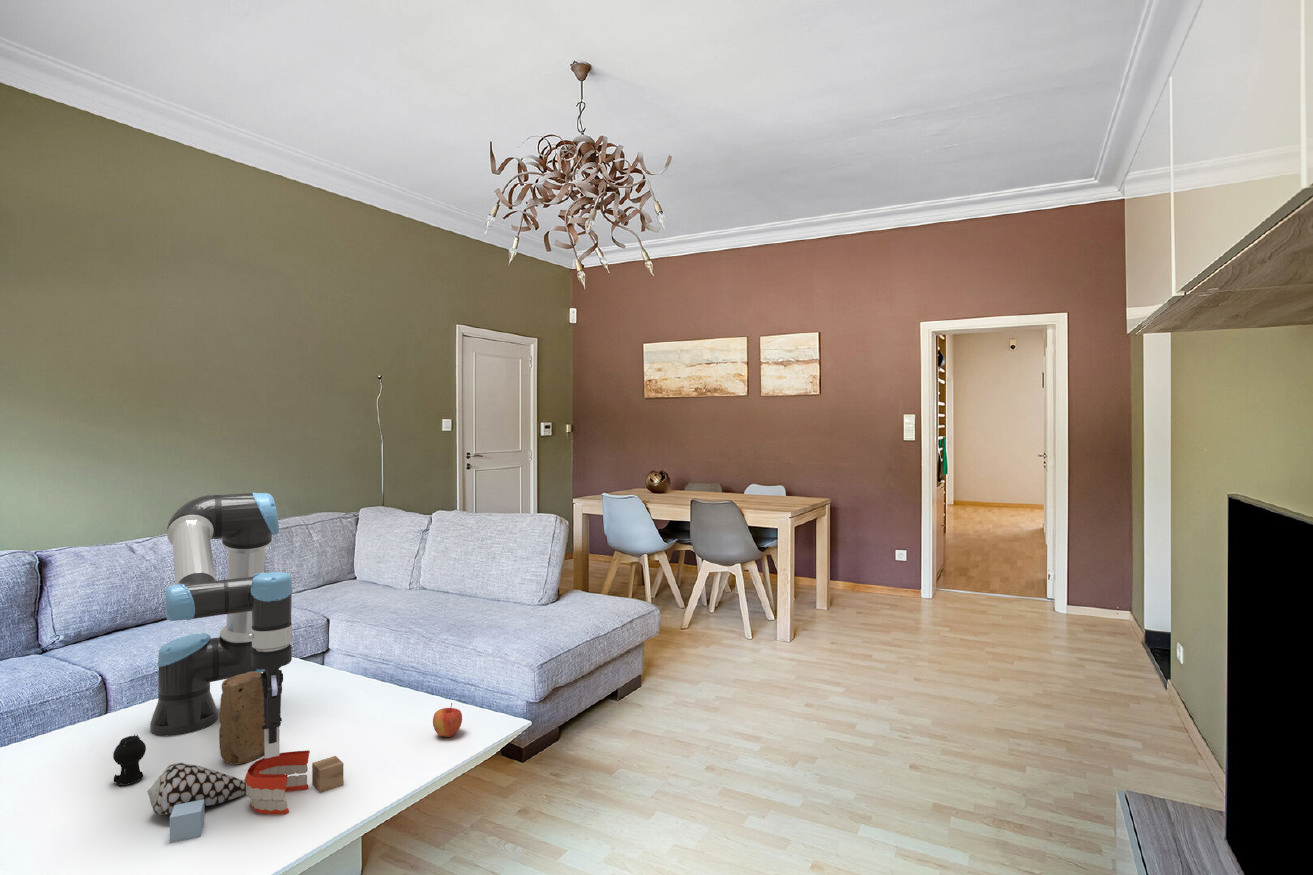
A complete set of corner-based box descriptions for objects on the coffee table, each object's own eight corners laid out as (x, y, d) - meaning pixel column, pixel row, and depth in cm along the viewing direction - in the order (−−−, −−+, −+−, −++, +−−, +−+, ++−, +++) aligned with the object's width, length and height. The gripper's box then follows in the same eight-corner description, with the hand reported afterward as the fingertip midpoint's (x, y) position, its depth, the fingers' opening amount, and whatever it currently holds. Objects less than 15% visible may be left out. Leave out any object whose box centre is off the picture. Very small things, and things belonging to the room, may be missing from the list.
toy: (262, 787, 153) (262, 751, 153) (311, 785, 154) (310, 749, 154) (233, 818, 141) (233, 779, 141) (286, 816, 141) (286, 777, 141)
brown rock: (231, 769, 161) (231, 684, 161) (216, 761, 165) (216, 678, 165) (278, 751, 170) (278, 671, 170) (262, 744, 174) (262, 665, 174)
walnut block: (312, 784, 154) (312, 762, 154) (335, 777, 158) (335, 755, 158) (319, 793, 151) (319, 770, 151) (343, 785, 154) (343, 762, 154)
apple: (426, 739, 177) (426, 708, 177) (445, 728, 184) (445, 698, 184) (449, 744, 174) (449, 712, 174) (468, 732, 181) (467, 702, 181)
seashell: (179, 831, 136) (179, 781, 136) (136, 819, 141) (136, 770, 141) (254, 791, 151) (253, 746, 151) (213, 781, 156) (212, 737, 156)
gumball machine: (119, 776, 158) (119, 733, 158) (150, 771, 160) (150, 729, 160) (108, 790, 152) (108, 745, 152) (141, 785, 154) (141, 740, 154)
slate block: (174, 830, 137) (174, 804, 137) (204, 823, 139) (204, 799, 139) (169, 843, 132) (169, 817, 132) (200, 836, 134) (200, 811, 134)
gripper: (249, 641, 150) (249, 748, 151) (253, 657, 140) (253, 773, 140) (288, 635, 155) (288, 739, 155) (295, 651, 144) (295, 763, 144)
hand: (271, 755), depth 147 cm, fingers closed
